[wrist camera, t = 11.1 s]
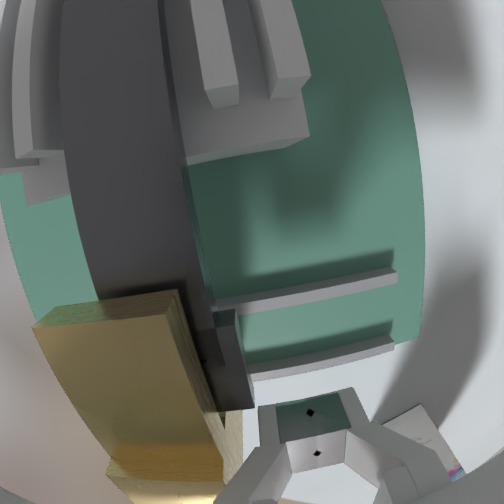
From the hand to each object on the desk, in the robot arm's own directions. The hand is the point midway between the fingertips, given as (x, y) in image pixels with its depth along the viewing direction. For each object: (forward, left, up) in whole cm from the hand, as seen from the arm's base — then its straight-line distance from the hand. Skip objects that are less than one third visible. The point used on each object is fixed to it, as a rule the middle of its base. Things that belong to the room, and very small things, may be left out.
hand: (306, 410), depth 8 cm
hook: (+4, -2, -5) cm, 6 cm away
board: (+3, -12, -6) cm, 14 cm away
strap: (+3, -11, 0) cm, 12 cm away
